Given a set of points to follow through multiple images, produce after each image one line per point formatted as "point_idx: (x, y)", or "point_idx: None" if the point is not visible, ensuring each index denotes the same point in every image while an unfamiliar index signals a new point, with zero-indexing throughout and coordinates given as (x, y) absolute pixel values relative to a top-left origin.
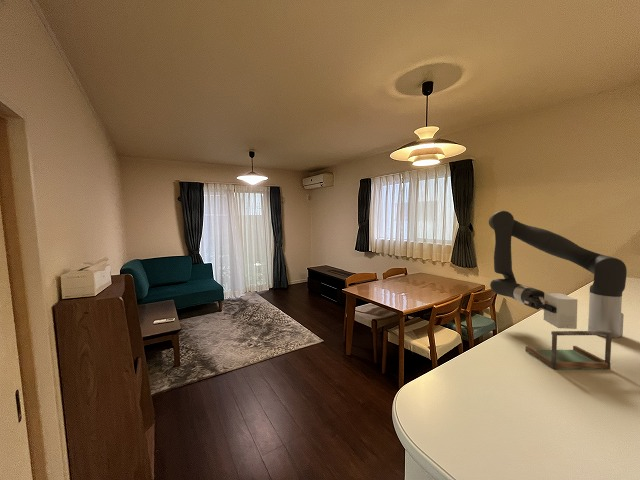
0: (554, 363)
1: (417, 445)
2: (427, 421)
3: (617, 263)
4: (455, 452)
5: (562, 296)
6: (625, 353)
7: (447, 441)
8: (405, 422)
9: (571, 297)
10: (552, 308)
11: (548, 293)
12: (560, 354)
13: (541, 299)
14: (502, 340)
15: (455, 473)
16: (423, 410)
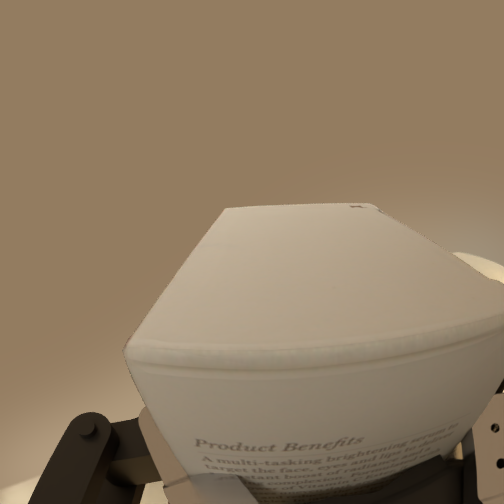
0: None
1: (481, 258)
2: (490, 270)
3: None
4: (462, 259)
5: (306, 221)
6: (28, 496)
7: (470, 262)
8: (499, 266)
9: (222, 221)
10: None
11: (473, 286)
12: None
13: (501, 422)
14: None
15: (456, 252)
16: (499, 276)
